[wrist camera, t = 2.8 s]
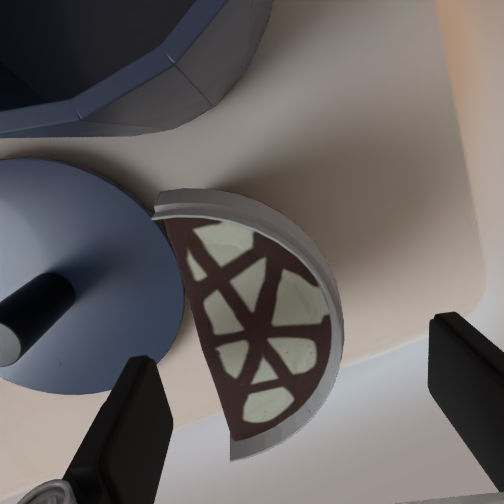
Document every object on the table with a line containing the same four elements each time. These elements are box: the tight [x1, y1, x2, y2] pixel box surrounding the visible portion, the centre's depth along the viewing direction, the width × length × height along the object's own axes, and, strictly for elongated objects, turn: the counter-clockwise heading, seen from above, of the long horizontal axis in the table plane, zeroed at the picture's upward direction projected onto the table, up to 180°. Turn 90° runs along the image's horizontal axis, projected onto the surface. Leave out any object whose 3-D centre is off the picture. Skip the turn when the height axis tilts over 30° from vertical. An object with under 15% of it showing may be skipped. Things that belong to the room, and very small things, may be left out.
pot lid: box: [0, 157, 185, 395], centre depth 19 cm, size 17×17×7 cm
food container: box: [151, 188, 344, 462], centre depth 17 cm, size 12×6×10 cm, turn 12°
